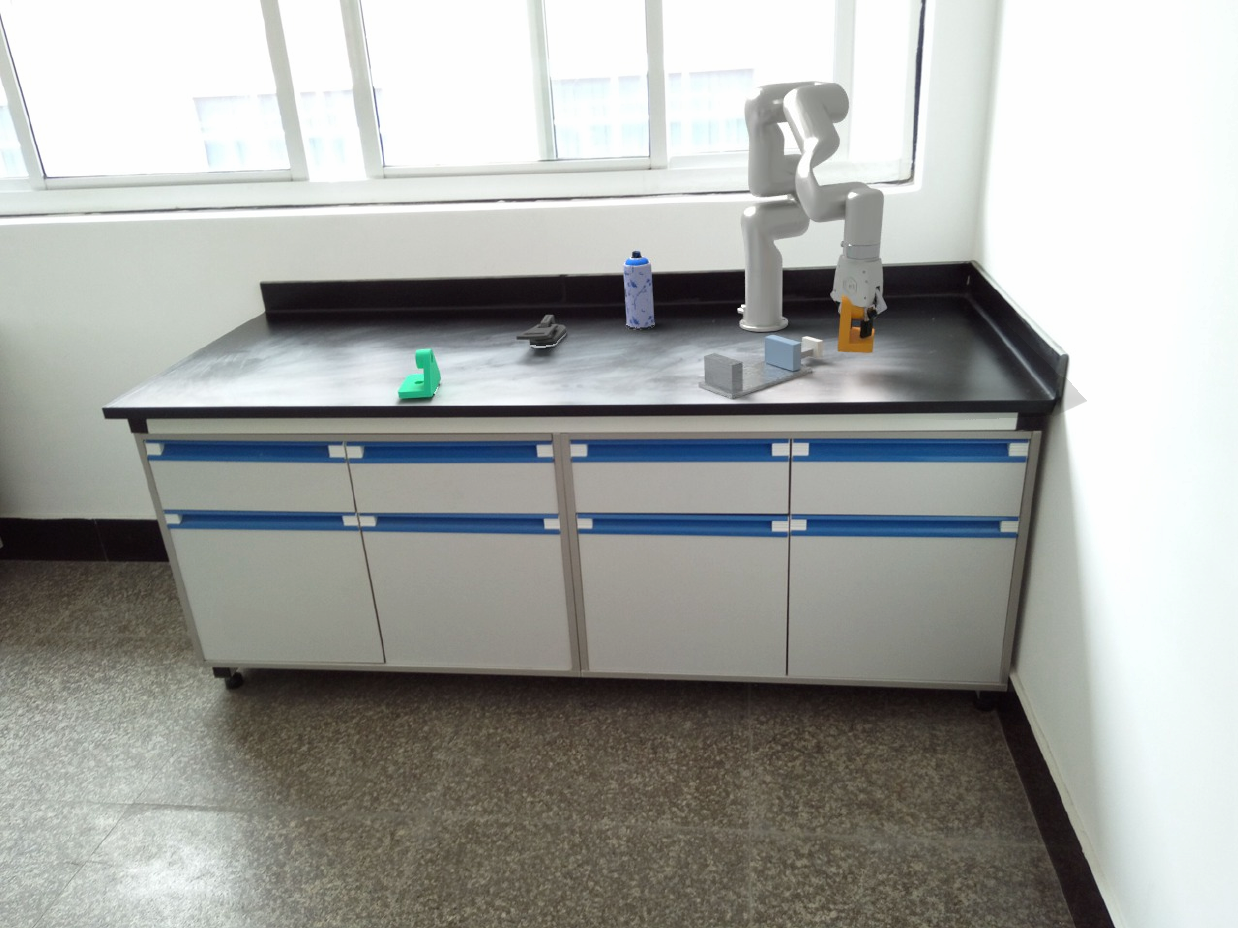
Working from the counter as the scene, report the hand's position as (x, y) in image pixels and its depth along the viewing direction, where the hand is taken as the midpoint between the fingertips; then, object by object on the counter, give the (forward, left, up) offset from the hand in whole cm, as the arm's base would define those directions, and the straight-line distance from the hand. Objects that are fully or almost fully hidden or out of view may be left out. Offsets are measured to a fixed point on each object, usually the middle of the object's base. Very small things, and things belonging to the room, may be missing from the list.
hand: (855, 333), depth 197 cm
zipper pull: (-71, -38, -10) cm, 81 cm away
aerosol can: (-67, -9, -10) cm, 68 cm away
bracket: (0, 0, -3) cm, 3 cm away
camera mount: (-62, -77, -10) cm, 99 cm away
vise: (-13, -17, -9) cm, 24 cm away
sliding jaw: (-13, -5, -8) cm, 16 cm away
